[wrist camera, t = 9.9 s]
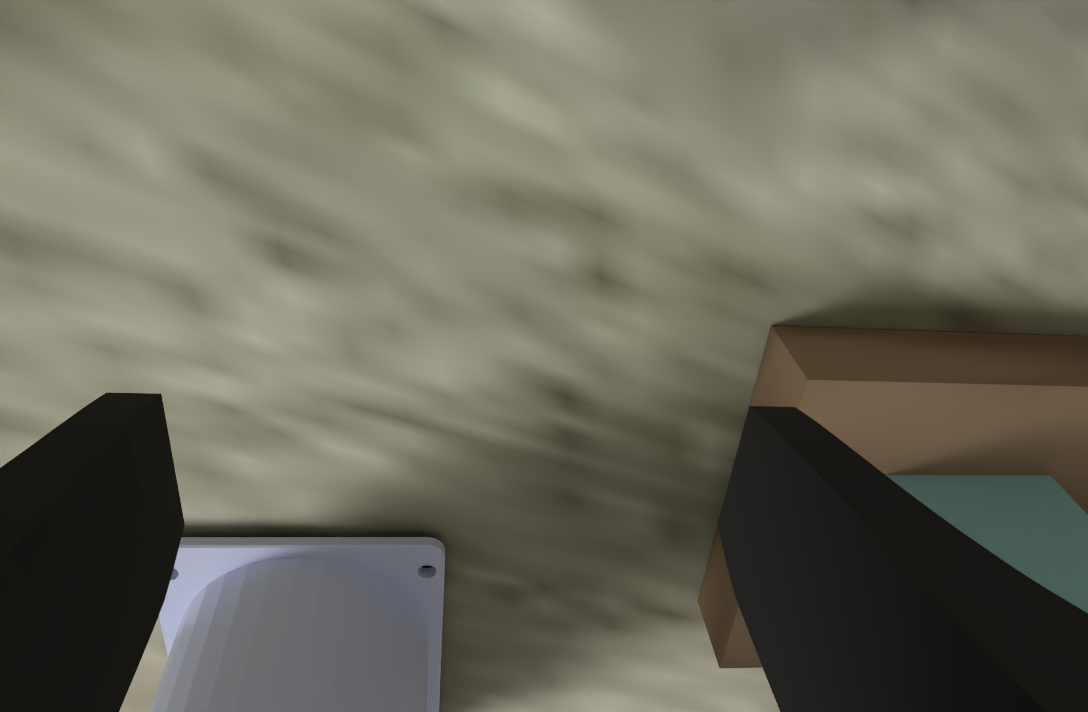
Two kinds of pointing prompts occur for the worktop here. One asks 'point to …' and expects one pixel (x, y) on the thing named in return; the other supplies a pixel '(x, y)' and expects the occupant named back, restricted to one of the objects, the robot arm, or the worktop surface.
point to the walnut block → (921, 418)
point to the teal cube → (1015, 524)
